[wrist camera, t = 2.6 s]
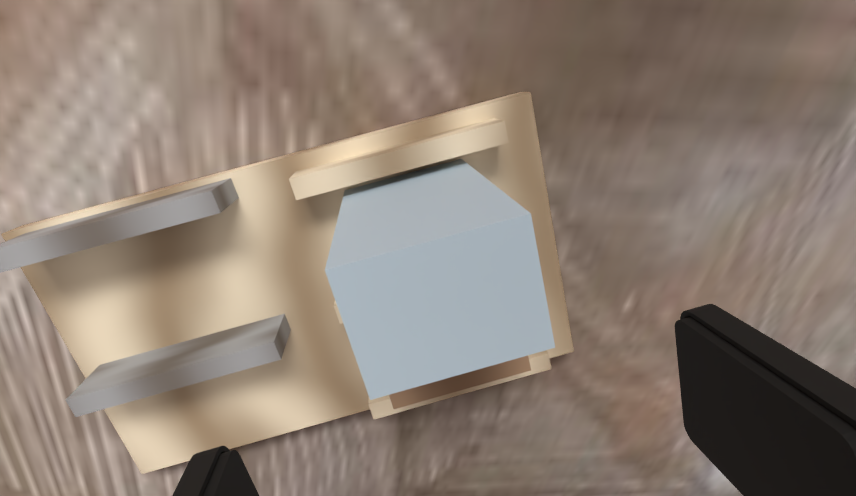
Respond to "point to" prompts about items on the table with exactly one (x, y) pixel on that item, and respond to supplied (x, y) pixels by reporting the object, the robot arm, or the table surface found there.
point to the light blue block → (436, 277)
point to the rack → (252, 285)
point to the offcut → (460, 382)
